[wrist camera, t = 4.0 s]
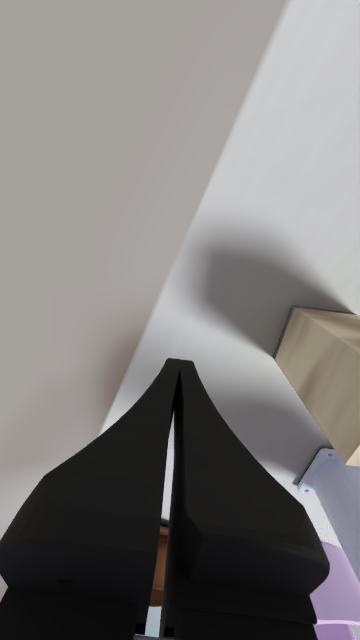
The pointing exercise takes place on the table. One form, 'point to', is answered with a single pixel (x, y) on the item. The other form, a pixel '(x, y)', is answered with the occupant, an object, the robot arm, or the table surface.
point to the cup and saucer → (159, 569)
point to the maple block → (326, 372)
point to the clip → (337, 598)
